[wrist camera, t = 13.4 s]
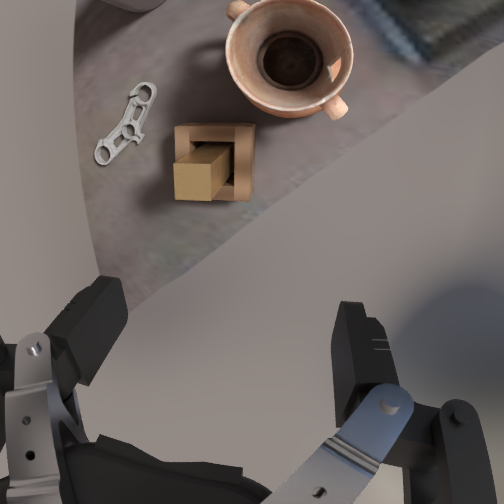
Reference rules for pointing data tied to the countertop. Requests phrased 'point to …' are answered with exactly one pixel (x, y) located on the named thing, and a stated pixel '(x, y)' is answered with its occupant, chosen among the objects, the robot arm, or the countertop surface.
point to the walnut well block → (244, 153)
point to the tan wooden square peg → (203, 171)
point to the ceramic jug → (289, 56)
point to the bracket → (123, 124)
